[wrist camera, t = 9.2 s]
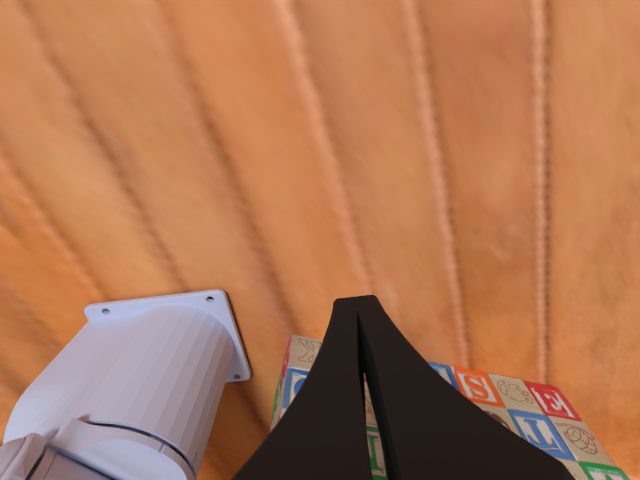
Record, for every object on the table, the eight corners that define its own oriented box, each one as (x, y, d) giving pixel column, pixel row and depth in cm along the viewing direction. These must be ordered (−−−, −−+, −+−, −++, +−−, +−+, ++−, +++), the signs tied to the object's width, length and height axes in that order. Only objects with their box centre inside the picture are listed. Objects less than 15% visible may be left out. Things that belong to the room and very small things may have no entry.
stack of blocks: (559, 383, 26) (731, 608, 15) (518, 433, 29) (640, 655, 18) (289, 332, 24) (263, 555, 13) (273, 392, 27) (240, 617, 16)
